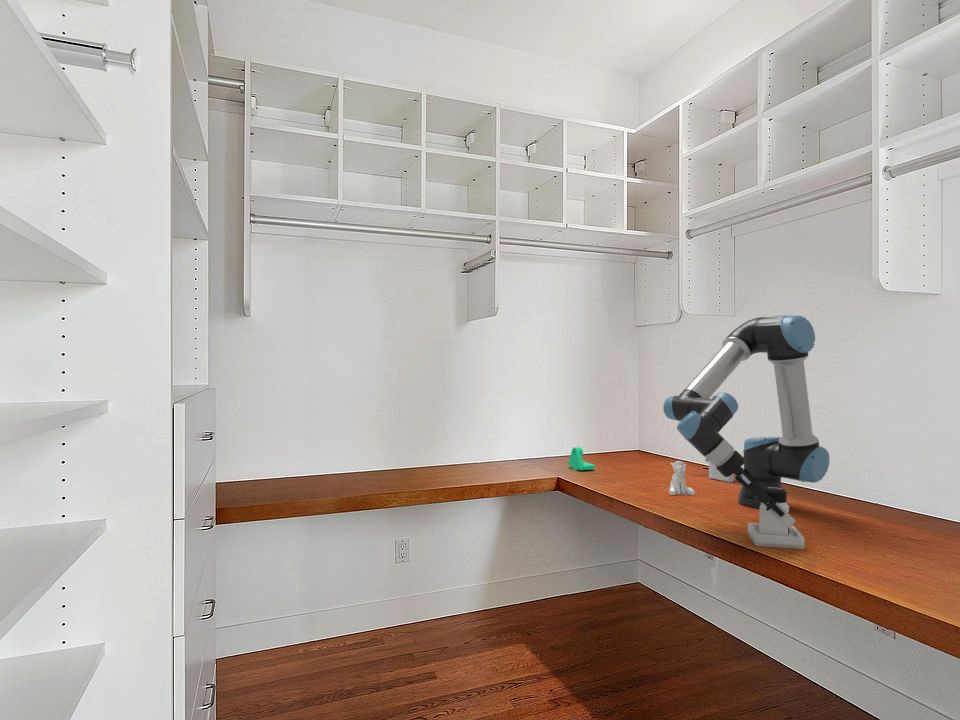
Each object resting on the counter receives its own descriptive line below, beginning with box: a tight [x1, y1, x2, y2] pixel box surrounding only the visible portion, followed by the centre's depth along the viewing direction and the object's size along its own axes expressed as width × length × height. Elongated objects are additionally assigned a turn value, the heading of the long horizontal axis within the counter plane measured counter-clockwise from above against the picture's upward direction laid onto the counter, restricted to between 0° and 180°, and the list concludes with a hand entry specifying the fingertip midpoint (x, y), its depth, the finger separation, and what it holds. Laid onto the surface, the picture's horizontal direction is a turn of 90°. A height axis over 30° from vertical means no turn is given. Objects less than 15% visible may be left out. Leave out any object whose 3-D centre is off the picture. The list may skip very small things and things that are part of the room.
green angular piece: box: [567, 446, 596, 471], centre depth 270 cm, size 12×8×10 cm, turn 18°
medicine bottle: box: [758, 488, 790, 536], centre depth 163 cm, size 7×7×12 cm
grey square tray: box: [747, 522, 805, 550], centre depth 163 cm, size 12×12×3 cm
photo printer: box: [708, 460, 735, 483], centre depth 245 cm, size 10×4×12 cm, turn 38°
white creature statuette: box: [668, 460, 696, 496], centre depth 221 cm, size 10×9×12 cm
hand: (788, 519), depth 162 cm, fingers closed on medicine bottle, 8 cm apart
